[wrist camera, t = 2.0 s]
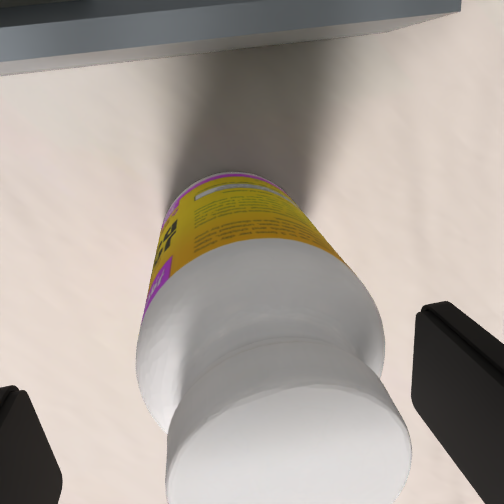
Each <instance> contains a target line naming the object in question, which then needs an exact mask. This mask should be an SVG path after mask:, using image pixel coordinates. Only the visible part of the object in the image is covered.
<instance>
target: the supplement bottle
mask: <svg viewBox="0 0 504 504" xmlns="http://www.w3.org/2000/svg"><path fill="white" fill-rule="evenodd" d="M384 358H385V337H384V330H383V325H382V320H381V317H380V314H379V311H378V309H377V307H376V304H375V302H374V300H373V298H372V297H371V295H370V294H369V292H368V290H367V289H366V287H365V286H364V285H363V283H362V282H361V281H360V280H359V278H358V277H357V276H356V274H355V273H354V272H353V271H352V270H351V269H350V267H349V266H348V265H347V264H346V263H345V262H344V261H343V260H342V258H341V257H340V256H339V255H338V254H337V253H336V251H335V250H334V249H333V248H332V246H331V245H330V244H329V243H328V242H327V241H326V240H325V238H324V237H323V236H322V235H321V233H320V232H319V231H318V230H317V229H316V227H315V226H314V225H313V224H312V223H311V221H310V220H309V219H308V218H307V217H306V216H305V214H304V213H303V212H302V211H301V210H300V208H299V207H298V206H297V205H296V203H295V202H294V201H293V200H292V199H291V198H290V197H289V196H288V195H287V194H286V193H285V192H284V191H283V190H282V189H281V188H280V187H279V186H277V185H276V184H274V183H273V182H271V181H269V180H267V179H265V178H263V177H260V176H258V175H255V174H251V173H246V172H223V173H218V174H214V175H210V176H208V177H205V178H203V179H200V180H199V181H197V182H195V183H193V184H192V185H190V186H189V187H188V188H186V189H185V190H184V191H183V192H182V193H181V194H180V195H179V196H178V197H177V198H176V199H175V201H174V202H173V203H172V205H171V206H170V208H169V210H168V212H167V214H166V216H165V219H164V222H163V225H162V228H161V232H160V237H159V242H158V246H157V251H156V255H155V260H154V265H153V270H152V274H151V279H150V284H149V290H148V295H147V300H146V304H145V309H144V314H143V318H142V323H141V327H140V332H139V337H138V342H137V349H136V374H137V381H138V385H139V389H140V392H141V395H142V398H143V400H144V402H145V405H146V407H147V409H148V411H149V412H150V414H151V415H152V417H153V418H154V420H155V421H156V423H157V424H158V425H159V426H160V428H161V429H162V430H163V431H164V432H165V433H166V434H167V463H166V478H165V483H166V497H167V502H168V504H393V503H394V501H395V500H396V499H397V497H398V496H399V494H400V493H401V491H402V489H403V487H404V485H405V483H406V481H407V478H408V475H409V472H410V467H411V460H412V445H411V439H410V436H409V432H408V429H407V426H406V424H405V422H404V420H403V418H402V416H401V415H400V413H399V411H398V409H397V408H396V406H395V404H394V403H393V401H392V399H391V397H390V396H389V394H388V392H387V390H386V389H385V387H384V385H383V383H382V382H381V380H380V377H381V373H382V369H383V364H384Z"/></svg>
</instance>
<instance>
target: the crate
mask: <svg viewBox="0 0 504 504" xmlns="http://www.w3.org/2000/svg"><path fill="white" fill-rule="evenodd" d="M460 11H461V0H74V1H64V2H54V3H44V4H34V5H24V6H14V7H4V8H0V76H5V75H14V74H23V73H32V72H40V71H49V70H58V69H67V68H76V67H85V66H93V65H102V64H111V63H120V62H129V61H138V60H147V59H155V58H164V57H173V56H182V55H191V54H200V53H208V52H217V51H226V50H235V49H244V48H253V47H261V46H270V45H279V44H288V43H297V42H306V41H315V40H323V39H332V38H341V37H350V36H359V35H368V34H376V33H385V32H389V31H393V30H397V29H400V28H404V27H407V26H411V25H414V24H418V23H421V22H425V21H428V20H432V19H435V18H439V17H443V16H446V15H450V14H453V13H457V12H460Z"/></svg>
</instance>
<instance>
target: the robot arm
mask: <svg viewBox="0 0 504 504" xmlns="http://www.w3.org/2000/svg"><path fill="white" fill-rule="evenodd" d="M411 399H412V403H413V405H414V408H415V409H416V411H417V412H418V414H419V415H420V416H421V418H422V419H423V420H424V422H425V423H426V424H427V426H428V427H429V428H430V430H431V431H432V433H433V434H434V435H435V437H436V438H437V439H438V441H439V442H440V443H441V445H442V446H443V447H444V449H445V450H446V451H447V453H448V454H449V456H450V457H451V458H452V460H453V461H454V462H455V464H456V465H457V466H458V468H459V469H460V470H461V472H462V473H463V474H464V476H465V477H466V479H467V480H468V481H469V483H470V484H471V485H472V487H473V488H474V489H475V491H476V492H477V493H478V495H479V496H480V497H481V499H482V500H483V501H484V503H485V504H504V344H503V343H501V342H500V341H499V340H498V339H496V338H495V337H494V336H493V335H491V334H490V333H489V332H487V331H486V330H485V329H484V328H482V327H481V326H480V325H478V324H477V323H476V322H475V321H473V320H472V319H471V318H470V317H468V316H467V315H466V314H464V313H463V312H462V311H461V310H459V309H458V308H457V307H456V306H454V305H453V304H452V303H450V302H448V301H443V302H438V303H433V304H428V305H424V306H423V307H422V309H421V312H418V313H417V315H416V321H415V337H414V354H413V371H412V387H411ZM61 490H62V474H61V471H60V468H59V466H58V464H57V461H56V459H55V457H54V454H53V452H52V450H51V447H50V445H49V443H48V440H47V438H46V435H45V433H44V431H43V428H42V426H41V424H40V421H39V419H38V417H37V414H36V412H35V410H34V407H33V405H32V403H31V400H30V398H29V396H28V394H27V392H26V391H25V390H20V391H19V389H18V388H17V387H16V386H13V385H11V386H6V387H1V388H0V504H58V501H59V497H60V494H61Z"/></svg>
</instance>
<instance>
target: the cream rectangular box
mask: <svg viewBox="0 0 504 504" xmlns="http://www.w3.org/2000/svg"><path fill="white" fill-rule="evenodd" d="M64 1H74V0H0V8H4V7H14V6H24V5H34V4H44V3H54V2H64Z"/></svg>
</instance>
